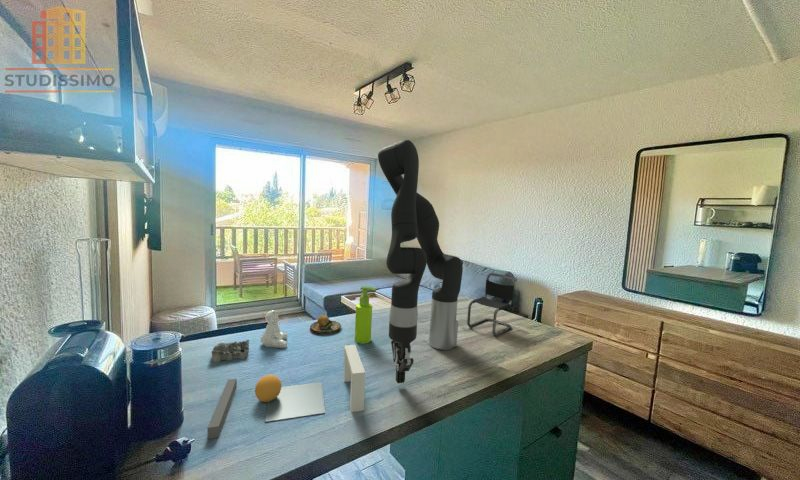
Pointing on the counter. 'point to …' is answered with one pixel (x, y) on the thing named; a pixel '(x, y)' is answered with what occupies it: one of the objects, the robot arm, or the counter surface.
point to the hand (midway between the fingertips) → (400, 381)
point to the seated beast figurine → (273, 332)
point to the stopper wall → (222, 409)
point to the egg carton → (224, 350)
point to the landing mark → (296, 402)
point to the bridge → (354, 377)
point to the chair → (498, 292)
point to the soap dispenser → (363, 318)
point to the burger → (325, 326)
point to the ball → (268, 388)
